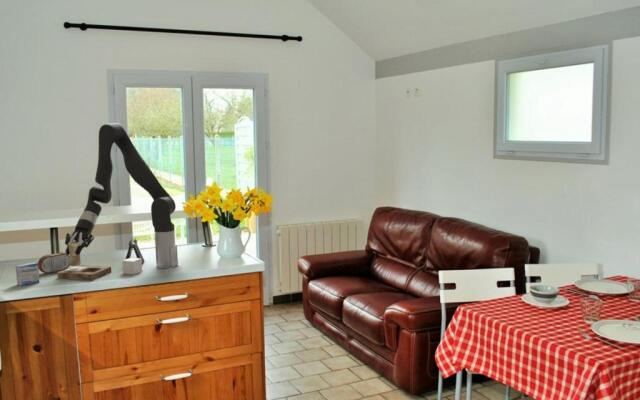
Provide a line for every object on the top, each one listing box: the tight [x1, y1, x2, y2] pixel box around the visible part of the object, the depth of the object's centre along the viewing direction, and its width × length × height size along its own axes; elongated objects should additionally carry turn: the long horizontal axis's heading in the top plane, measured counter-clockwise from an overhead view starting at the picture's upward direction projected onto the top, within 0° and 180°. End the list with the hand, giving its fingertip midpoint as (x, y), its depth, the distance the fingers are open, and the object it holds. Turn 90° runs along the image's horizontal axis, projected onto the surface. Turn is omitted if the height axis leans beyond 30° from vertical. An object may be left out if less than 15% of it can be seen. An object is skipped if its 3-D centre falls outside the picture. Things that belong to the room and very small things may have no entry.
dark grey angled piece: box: [124, 238, 145, 266], centre depth 289 cm, size 9×6×12 cm, turn 98°
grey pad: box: [64, 266, 87, 271], centre depth 271 cm, size 7×7×1 cm
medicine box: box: [15, 261, 40, 287], centre depth 258 cm, size 8×4×9 cm, turn 138°
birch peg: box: [69, 242, 82, 267], centre depth 270 cm, size 4×4×10 cm
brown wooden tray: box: [56, 264, 112, 281], centre depth 270 cm, size 18×14×2 cm
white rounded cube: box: [122, 257, 143, 275], centre depth 274 cm, size 6×6×6 cm
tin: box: [37, 252, 71, 274], centre depth 277 cm, size 15×3×8 cm, turn 141°
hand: (71, 253), depth 269 cm, fingers closed on birch peg, 4 cm apart
